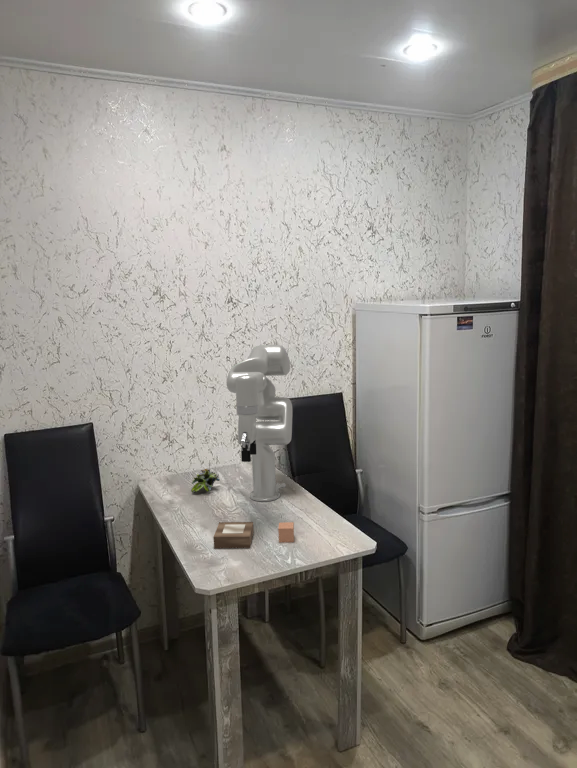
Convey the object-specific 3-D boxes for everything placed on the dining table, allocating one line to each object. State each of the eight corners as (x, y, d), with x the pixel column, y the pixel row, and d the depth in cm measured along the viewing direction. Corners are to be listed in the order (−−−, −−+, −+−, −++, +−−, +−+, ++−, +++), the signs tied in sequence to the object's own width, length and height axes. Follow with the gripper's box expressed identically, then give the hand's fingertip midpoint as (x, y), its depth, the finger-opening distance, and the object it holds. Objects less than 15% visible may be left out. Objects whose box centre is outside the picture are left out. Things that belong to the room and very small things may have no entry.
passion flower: (207, 500, 245) (219, 475, 248) (213, 503, 235) (227, 477, 238) (184, 488, 241) (197, 463, 244) (190, 492, 231) (204, 465, 234)
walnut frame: (219, 533, 198) (219, 521, 197) (253, 532, 197) (253, 521, 196) (214, 548, 186) (213, 536, 185) (250, 548, 185) (249, 536, 185)
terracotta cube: (279, 536, 194) (279, 522, 193) (294, 536, 194) (293, 522, 193) (278, 542, 189) (278, 528, 188) (293, 542, 189) (293, 528, 188)
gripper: (242, 405, 204) (244, 451, 207) (230, 414, 187) (233, 464, 190) (262, 405, 203) (264, 451, 206) (252, 414, 186) (254, 464, 189)
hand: (249, 457), depth 198 cm, fingers open, 9 cm apart
